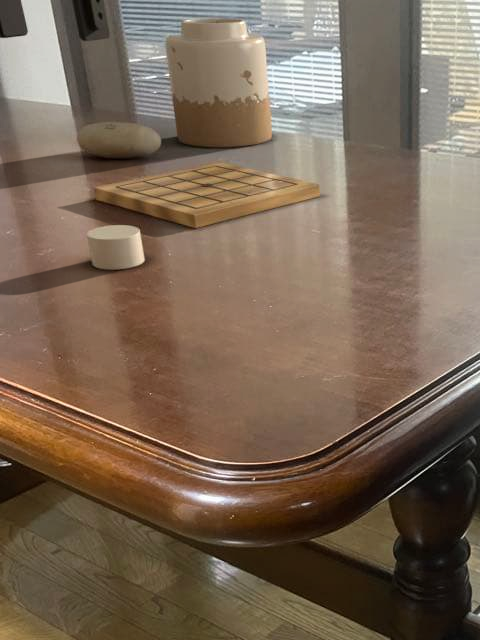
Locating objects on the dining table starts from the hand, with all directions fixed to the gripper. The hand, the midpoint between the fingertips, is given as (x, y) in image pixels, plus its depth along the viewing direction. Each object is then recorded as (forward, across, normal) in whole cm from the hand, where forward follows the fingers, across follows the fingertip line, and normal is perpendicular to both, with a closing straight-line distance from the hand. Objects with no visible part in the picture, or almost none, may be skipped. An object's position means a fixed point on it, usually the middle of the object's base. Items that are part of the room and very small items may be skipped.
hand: (53, 37), depth 78 cm
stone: (+20, -32, +41) cm, 55 cm away
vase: (+20, -26, +60) cm, 68 cm away
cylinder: (+20, +2, 0) cm, 20 cm away
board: (+20, -6, +26) cm, 33 cm away
